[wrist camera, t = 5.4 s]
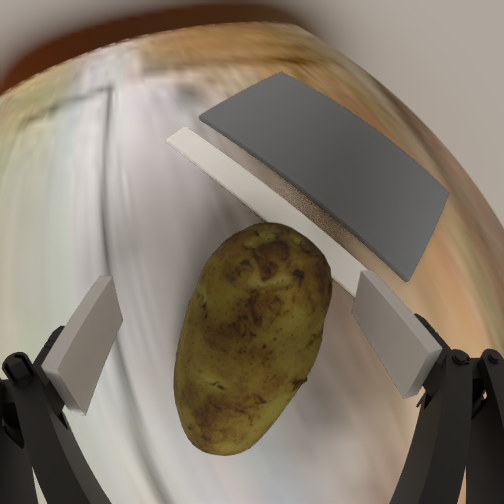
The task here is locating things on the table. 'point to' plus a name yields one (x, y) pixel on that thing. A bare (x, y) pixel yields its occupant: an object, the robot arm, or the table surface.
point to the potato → (250, 336)
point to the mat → (337, 165)
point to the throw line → (266, 203)
